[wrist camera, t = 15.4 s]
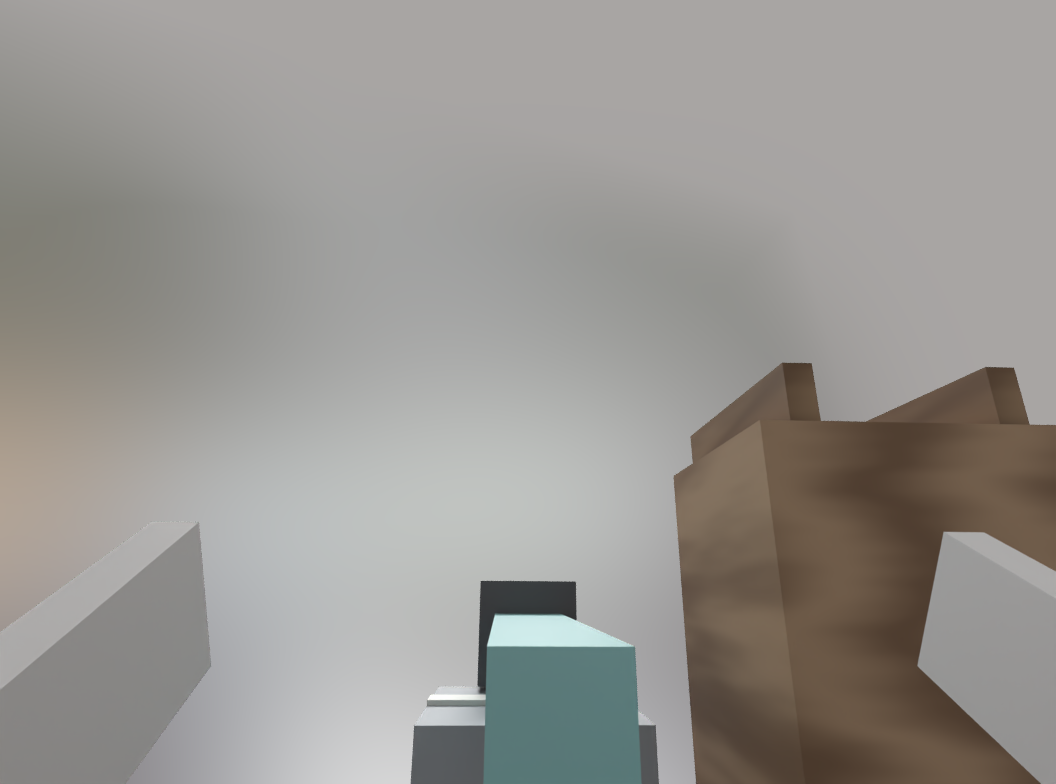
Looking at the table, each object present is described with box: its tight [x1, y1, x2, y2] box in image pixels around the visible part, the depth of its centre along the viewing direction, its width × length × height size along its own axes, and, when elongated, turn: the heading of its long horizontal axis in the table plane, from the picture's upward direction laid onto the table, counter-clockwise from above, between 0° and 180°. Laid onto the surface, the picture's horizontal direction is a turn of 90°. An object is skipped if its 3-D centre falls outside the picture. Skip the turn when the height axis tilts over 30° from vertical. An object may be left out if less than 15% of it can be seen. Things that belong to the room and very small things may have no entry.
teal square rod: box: [478, 581, 642, 784], centre depth 21 cm, size 4×20×4 cm, turn 2°
